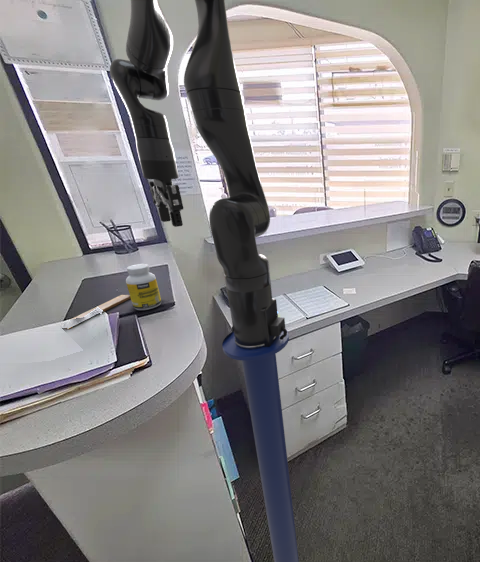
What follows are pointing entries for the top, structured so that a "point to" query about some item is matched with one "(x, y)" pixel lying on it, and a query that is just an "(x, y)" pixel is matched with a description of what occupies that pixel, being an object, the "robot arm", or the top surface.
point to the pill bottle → (142, 287)
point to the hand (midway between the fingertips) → (171, 223)
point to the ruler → (107, 305)
